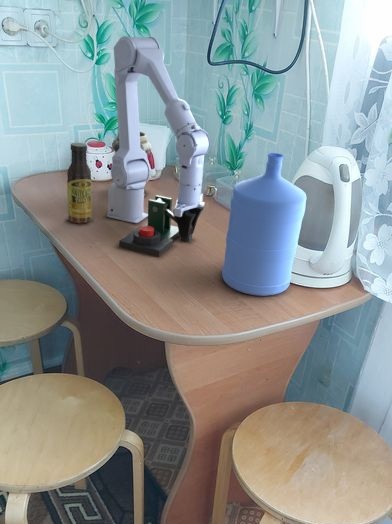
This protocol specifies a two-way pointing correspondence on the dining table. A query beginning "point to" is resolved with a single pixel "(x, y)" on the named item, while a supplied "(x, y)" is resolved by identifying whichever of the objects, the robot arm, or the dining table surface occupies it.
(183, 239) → the block
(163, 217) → the rod bracket
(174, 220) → the rod
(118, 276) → the dining table surface
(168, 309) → the dining table surface
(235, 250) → the water jug
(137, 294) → the dining table surface
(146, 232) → the button
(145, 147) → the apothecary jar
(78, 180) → the sauce bottle
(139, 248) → the button box
